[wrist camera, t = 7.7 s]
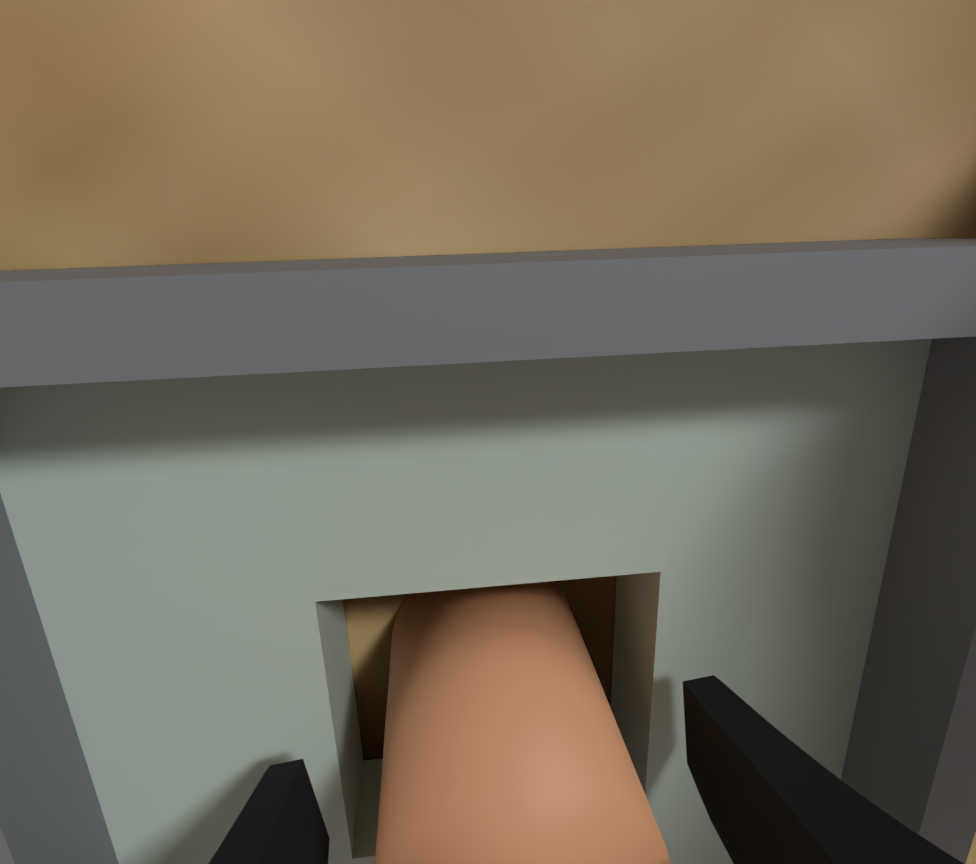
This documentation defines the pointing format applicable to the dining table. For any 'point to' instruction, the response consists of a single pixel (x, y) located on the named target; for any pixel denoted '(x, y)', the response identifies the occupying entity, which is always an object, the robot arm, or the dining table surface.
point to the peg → (504, 739)
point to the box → (480, 516)
